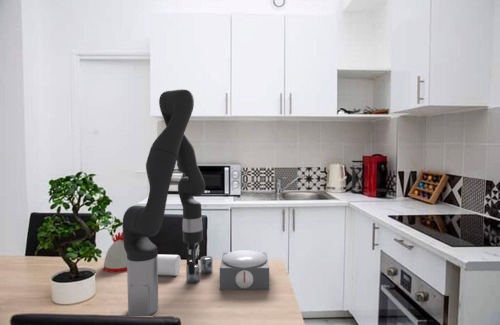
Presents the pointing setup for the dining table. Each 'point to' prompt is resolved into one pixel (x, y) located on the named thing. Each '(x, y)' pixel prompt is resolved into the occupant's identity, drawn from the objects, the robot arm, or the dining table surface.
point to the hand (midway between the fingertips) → (193, 269)
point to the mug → (169, 264)
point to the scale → (244, 271)
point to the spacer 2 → (206, 265)
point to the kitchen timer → (116, 256)
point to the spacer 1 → (193, 278)
